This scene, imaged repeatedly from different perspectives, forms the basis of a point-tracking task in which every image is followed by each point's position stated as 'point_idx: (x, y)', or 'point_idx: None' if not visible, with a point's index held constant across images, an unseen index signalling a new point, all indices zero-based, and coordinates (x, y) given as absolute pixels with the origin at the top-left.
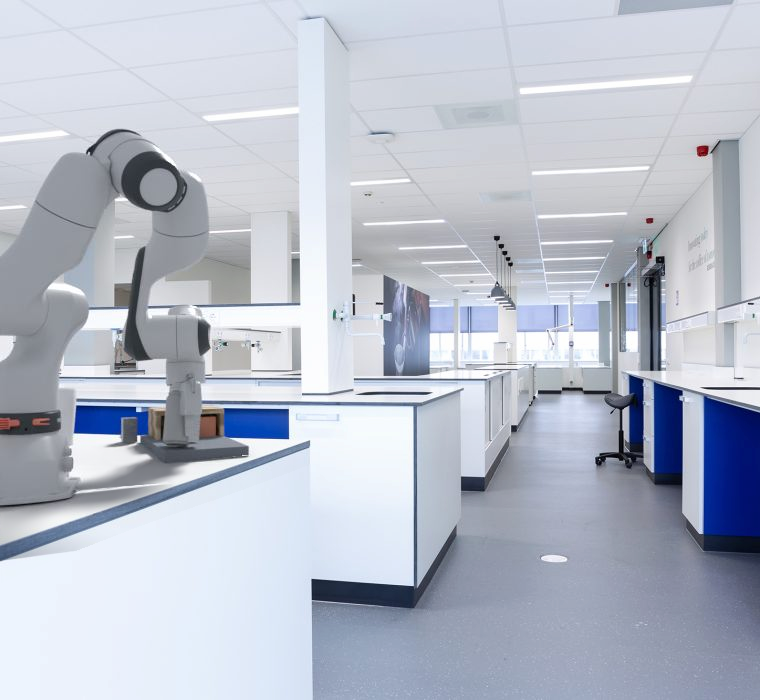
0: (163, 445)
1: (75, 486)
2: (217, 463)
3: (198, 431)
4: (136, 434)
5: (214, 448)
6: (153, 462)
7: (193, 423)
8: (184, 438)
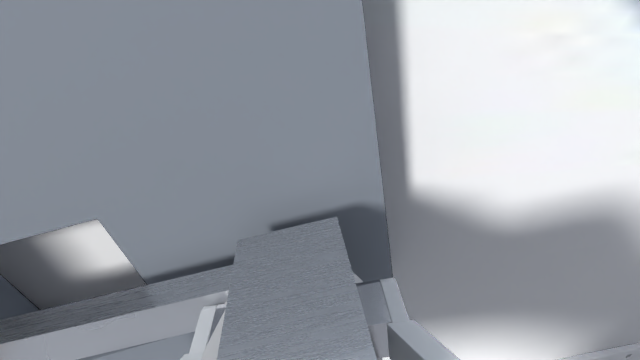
0: (184, 345)
1: (617, 350)
2: (488, 68)
3: (351, 271)
4: None
5: (372, 104)
6: None
7: (447, 353)
8: None
